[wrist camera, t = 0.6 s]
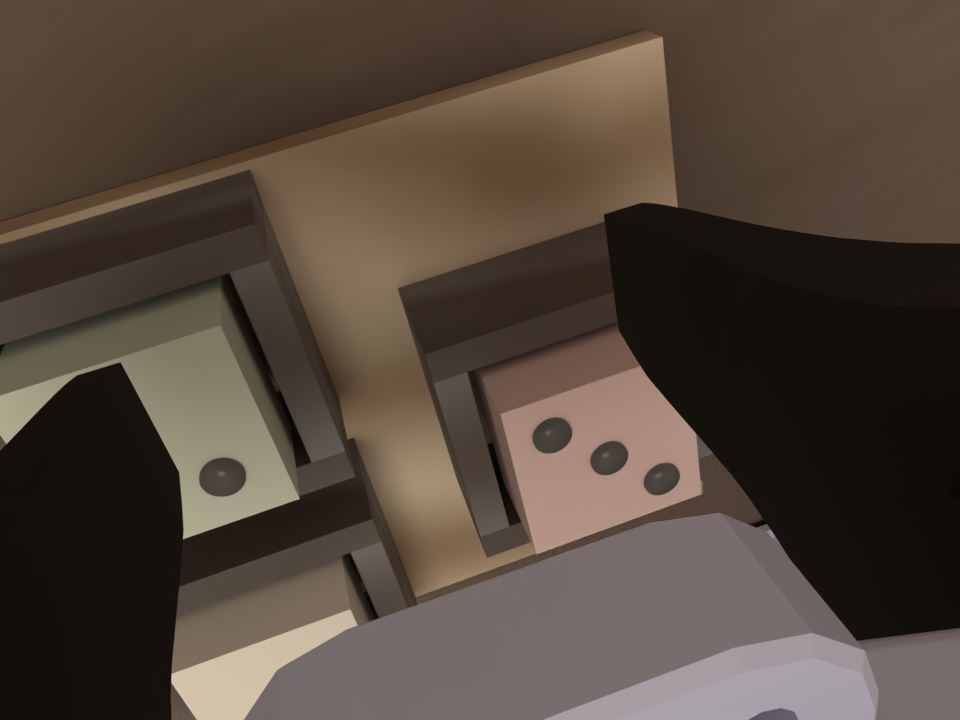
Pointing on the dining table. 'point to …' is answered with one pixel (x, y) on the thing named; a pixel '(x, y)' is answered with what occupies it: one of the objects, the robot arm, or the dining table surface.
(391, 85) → the dining table surface
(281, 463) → the tile two
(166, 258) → the console
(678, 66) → the dining table surface
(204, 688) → the tile one
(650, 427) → the tile three
